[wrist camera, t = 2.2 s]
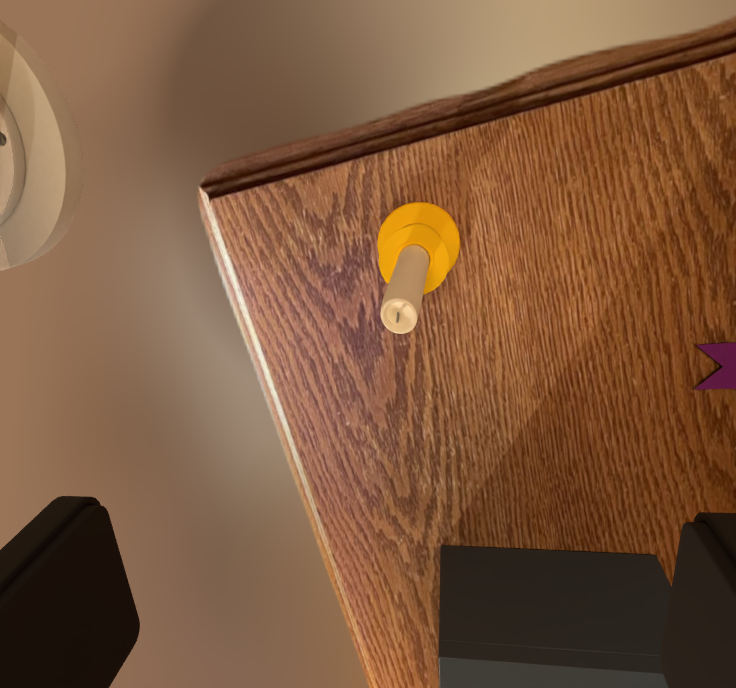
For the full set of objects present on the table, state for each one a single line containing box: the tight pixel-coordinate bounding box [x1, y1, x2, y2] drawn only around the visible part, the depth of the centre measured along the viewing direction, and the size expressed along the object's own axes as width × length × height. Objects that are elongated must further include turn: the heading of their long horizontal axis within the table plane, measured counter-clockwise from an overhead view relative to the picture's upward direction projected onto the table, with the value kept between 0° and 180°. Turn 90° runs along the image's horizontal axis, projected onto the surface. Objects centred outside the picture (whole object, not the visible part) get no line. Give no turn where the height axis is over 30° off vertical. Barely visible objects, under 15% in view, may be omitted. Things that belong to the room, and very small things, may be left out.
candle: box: [377, 202, 460, 334], centre depth 27 cm, size 5×5×16 cm
